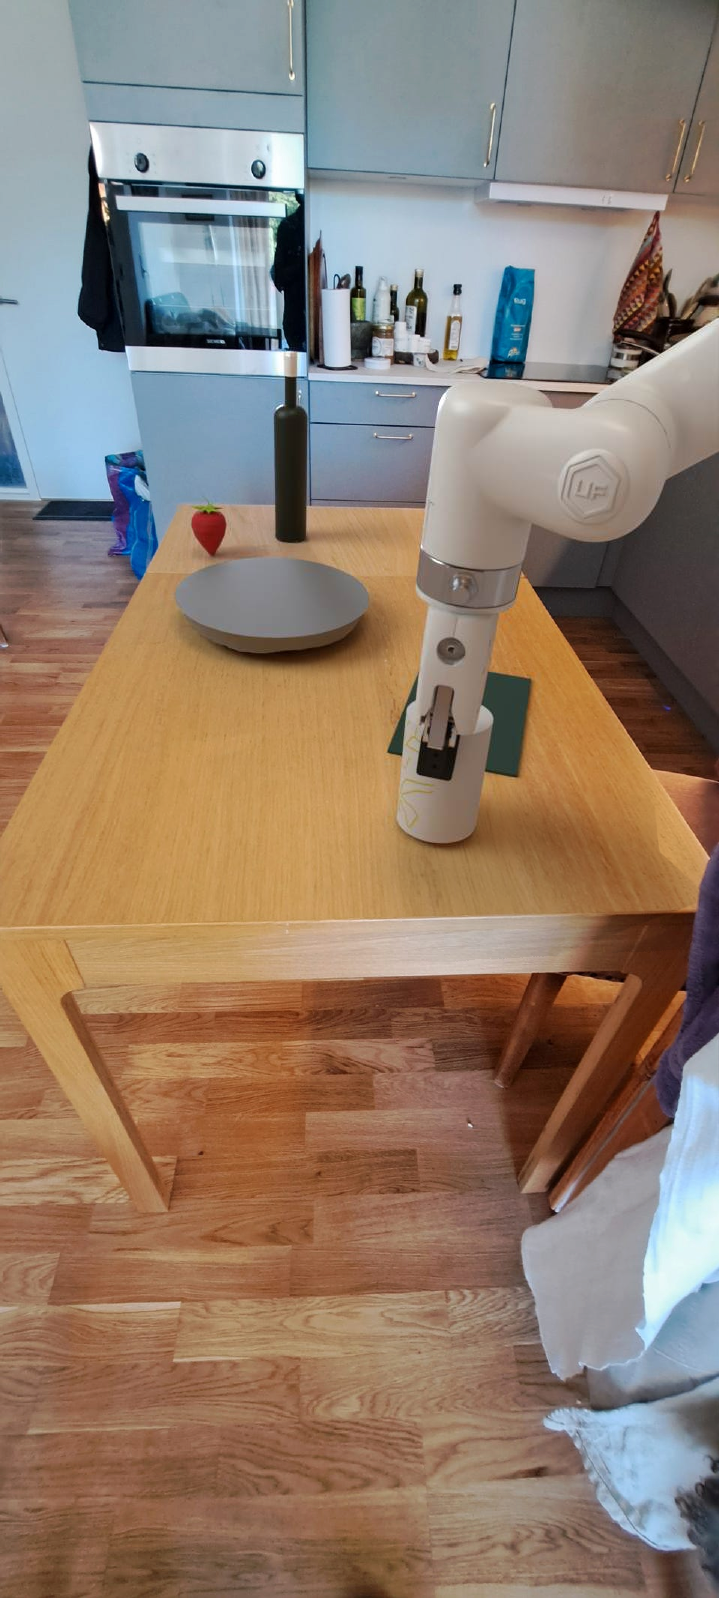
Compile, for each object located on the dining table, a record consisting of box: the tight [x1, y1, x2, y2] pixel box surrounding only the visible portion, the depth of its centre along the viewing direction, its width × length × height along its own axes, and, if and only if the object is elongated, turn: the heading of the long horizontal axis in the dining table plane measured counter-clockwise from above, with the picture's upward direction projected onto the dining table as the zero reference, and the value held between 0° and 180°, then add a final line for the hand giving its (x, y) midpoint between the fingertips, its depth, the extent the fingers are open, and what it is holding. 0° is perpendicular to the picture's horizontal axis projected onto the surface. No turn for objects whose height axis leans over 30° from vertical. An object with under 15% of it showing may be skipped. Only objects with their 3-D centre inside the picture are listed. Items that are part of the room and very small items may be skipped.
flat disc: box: [174, 556, 370, 654], centre depth 108 cm, size 28×28×4 cm
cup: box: [396, 701, 493, 844], centre depth 72 cm, size 8×8×12 cm
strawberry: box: [190, 495, 227, 556], centre depth 125 cm, size 6×8×10 cm
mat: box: [386, 670, 532, 778], centre depth 92 cm, size 15×23×1 cm, turn 166°
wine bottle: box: [273, 350, 309, 543], centre depth 128 cm, size 6×6×30 cm
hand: (434, 772), depth 66 cm, fingers closed
